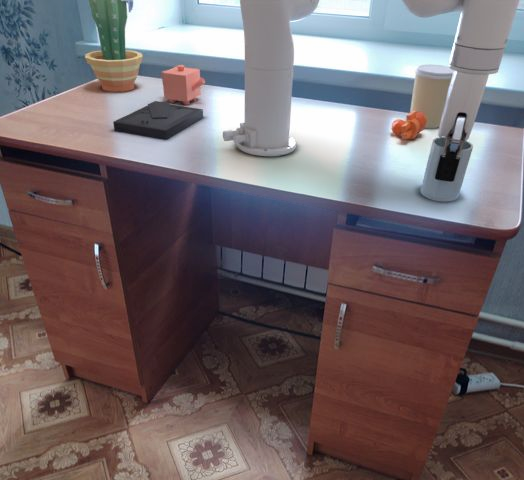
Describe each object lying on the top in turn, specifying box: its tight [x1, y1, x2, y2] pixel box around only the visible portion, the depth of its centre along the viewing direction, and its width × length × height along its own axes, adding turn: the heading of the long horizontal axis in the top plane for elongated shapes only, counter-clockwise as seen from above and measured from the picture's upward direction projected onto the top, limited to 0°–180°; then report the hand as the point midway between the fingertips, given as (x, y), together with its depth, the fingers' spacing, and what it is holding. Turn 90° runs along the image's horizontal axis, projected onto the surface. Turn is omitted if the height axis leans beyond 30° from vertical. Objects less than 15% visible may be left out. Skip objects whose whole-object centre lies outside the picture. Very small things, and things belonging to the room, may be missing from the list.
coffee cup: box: [409, 64, 454, 129], centre depth 120 cm, size 9×9×12 cm
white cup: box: [420, 136, 474, 203], centre depth 89 cm, size 7×7×9 cm
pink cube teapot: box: [161, 64, 206, 105], centre depth 130 cm, size 8×12×8 cm, turn 69°
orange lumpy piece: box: [390, 110, 427, 140], centre depth 115 cm, size 5×8×12 cm
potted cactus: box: [84, 0, 143, 93], centre depth 133 cm, size 16×15×25 cm
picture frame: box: [112, 100, 204, 140], centre depth 117 cm, size 13×2×18 cm
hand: (445, 171), depth 89 cm, fingers closed on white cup, 6 cm apart
